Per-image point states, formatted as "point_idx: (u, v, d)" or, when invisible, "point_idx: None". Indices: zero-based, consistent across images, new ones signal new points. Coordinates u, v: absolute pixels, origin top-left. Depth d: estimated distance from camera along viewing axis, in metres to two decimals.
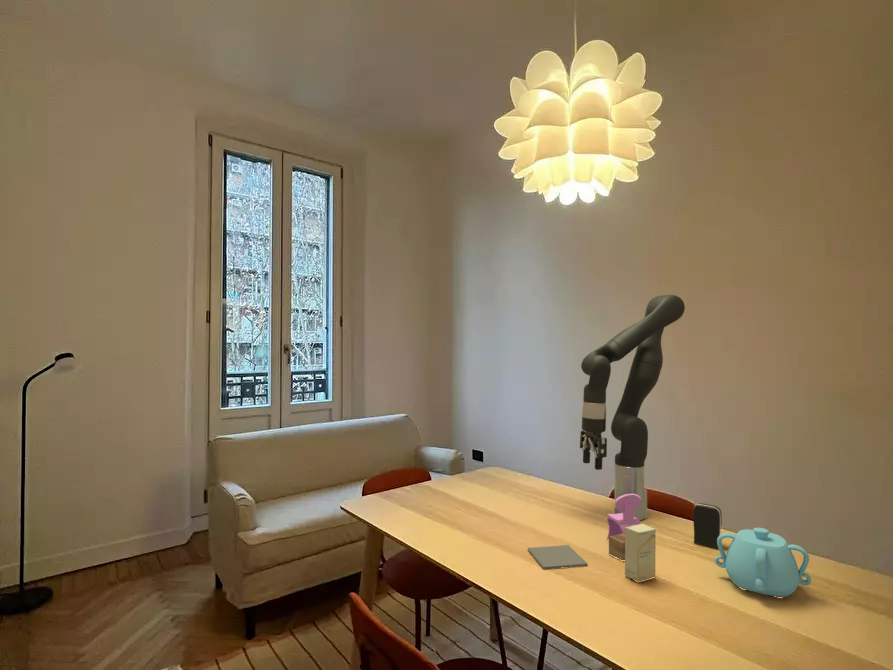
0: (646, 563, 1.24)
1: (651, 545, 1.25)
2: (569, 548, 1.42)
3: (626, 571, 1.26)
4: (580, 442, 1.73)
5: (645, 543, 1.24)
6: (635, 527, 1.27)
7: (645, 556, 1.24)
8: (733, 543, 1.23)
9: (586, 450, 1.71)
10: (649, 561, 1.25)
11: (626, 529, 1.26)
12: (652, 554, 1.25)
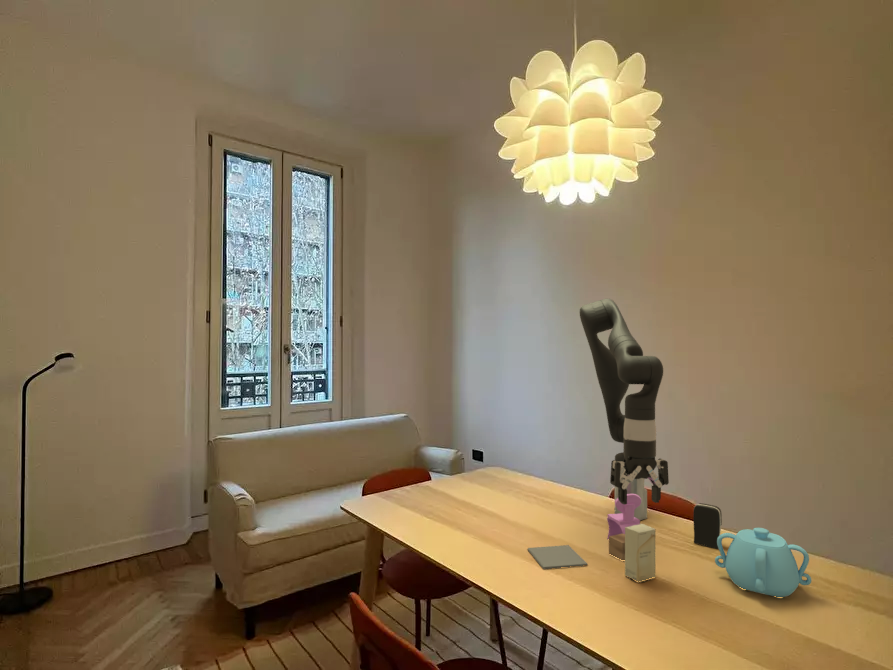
0: (646, 563, 1.24)
1: (651, 545, 1.25)
2: (569, 548, 1.42)
3: (626, 571, 1.26)
4: (616, 479, 1.24)
5: (645, 543, 1.24)
6: (635, 527, 1.27)
7: (645, 556, 1.24)
8: (733, 543, 1.23)
9: None
10: (649, 561, 1.25)
11: (626, 529, 1.26)
12: (652, 554, 1.25)
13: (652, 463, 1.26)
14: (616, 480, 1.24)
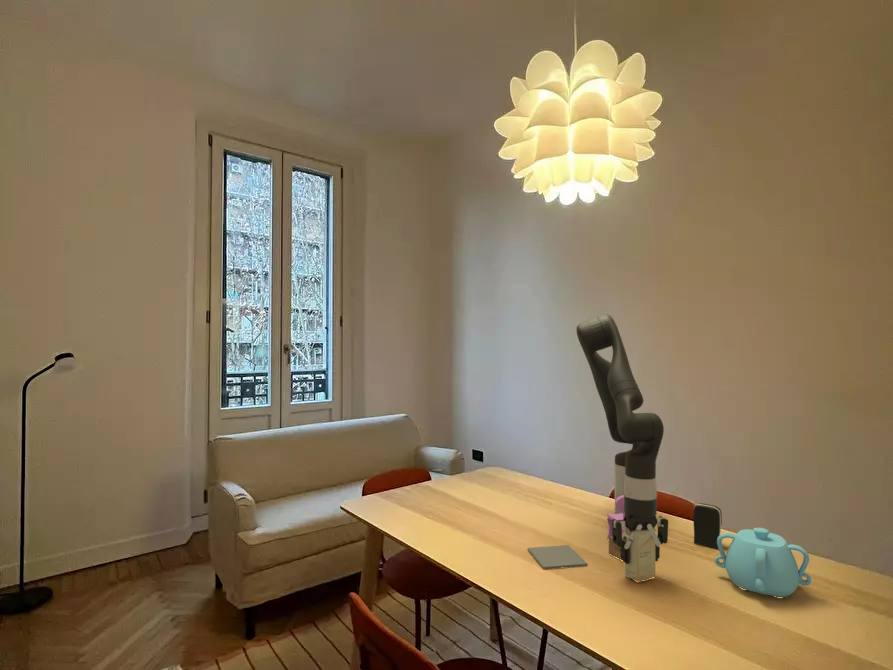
0: (646, 563, 1.24)
1: (651, 545, 1.25)
2: (569, 548, 1.42)
3: (626, 571, 1.26)
4: (618, 539, 1.24)
5: (645, 543, 1.24)
6: None
7: (645, 556, 1.24)
8: (733, 543, 1.23)
9: None
10: (649, 561, 1.25)
11: (626, 529, 1.26)
12: (652, 554, 1.25)
13: (653, 521, 1.26)
14: (618, 540, 1.24)
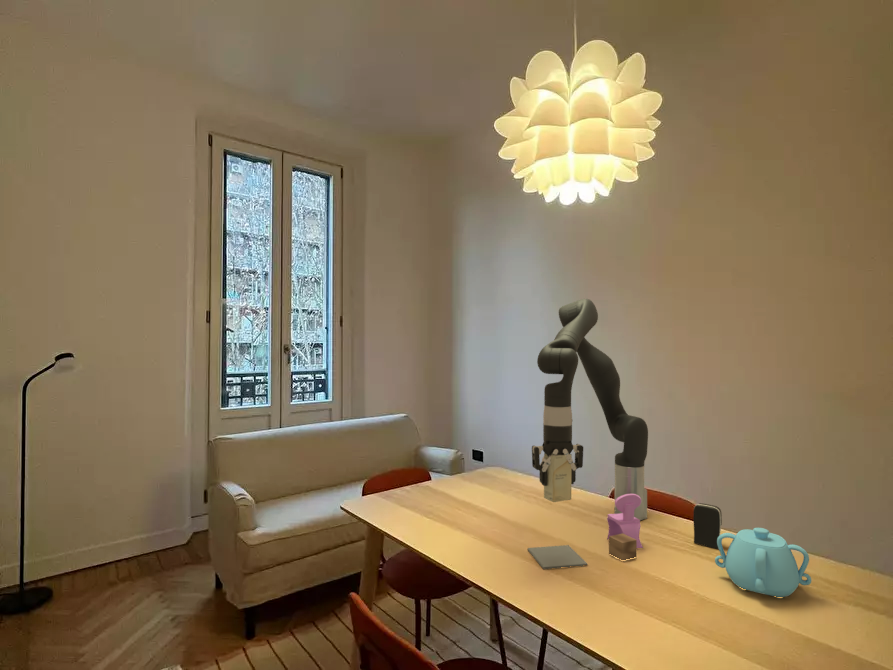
0: (562, 485, 1.35)
1: (567, 469, 1.36)
2: (569, 548, 1.42)
3: (545, 493, 1.37)
4: (536, 462, 1.35)
5: (561, 467, 1.35)
6: None
7: (561, 478, 1.35)
8: (733, 543, 1.23)
9: None
10: (565, 483, 1.36)
11: (545, 455, 1.37)
12: (568, 477, 1.36)
13: (569, 446, 1.37)
14: (536, 464, 1.35)
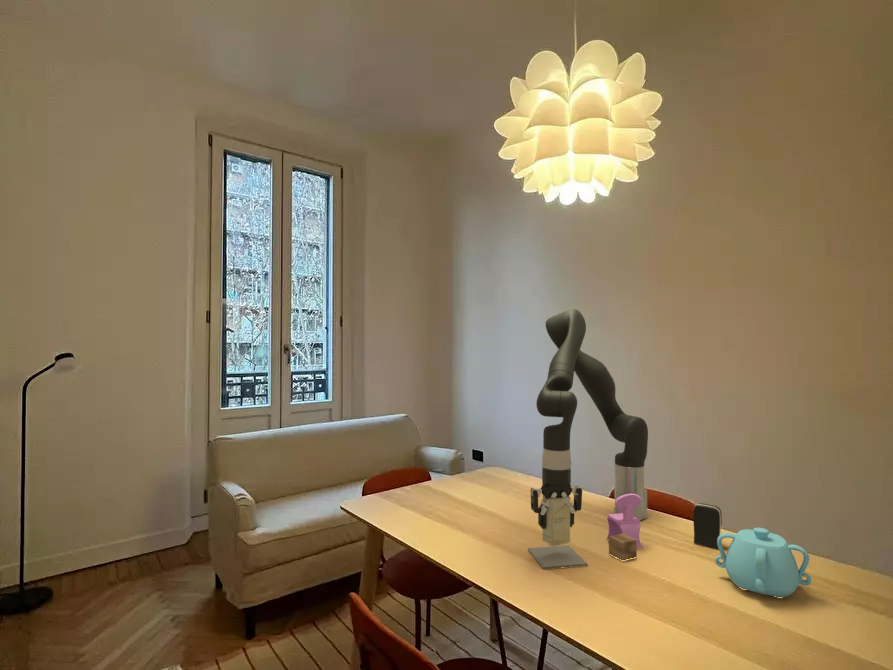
0: (561, 528, 1.35)
1: (566, 512, 1.36)
2: (569, 548, 1.42)
3: (543, 536, 1.37)
4: (535, 506, 1.35)
5: (560, 510, 1.35)
6: None
7: (559, 521, 1.35)
8: (733, 543, 1.23)
9: None
10: (563, 526, 1.36)
11: (543, 497, 1.38)
12: (566, 520, 1.36)
13: (567, 489, 1.37)
14: (535, 507, 1.35)
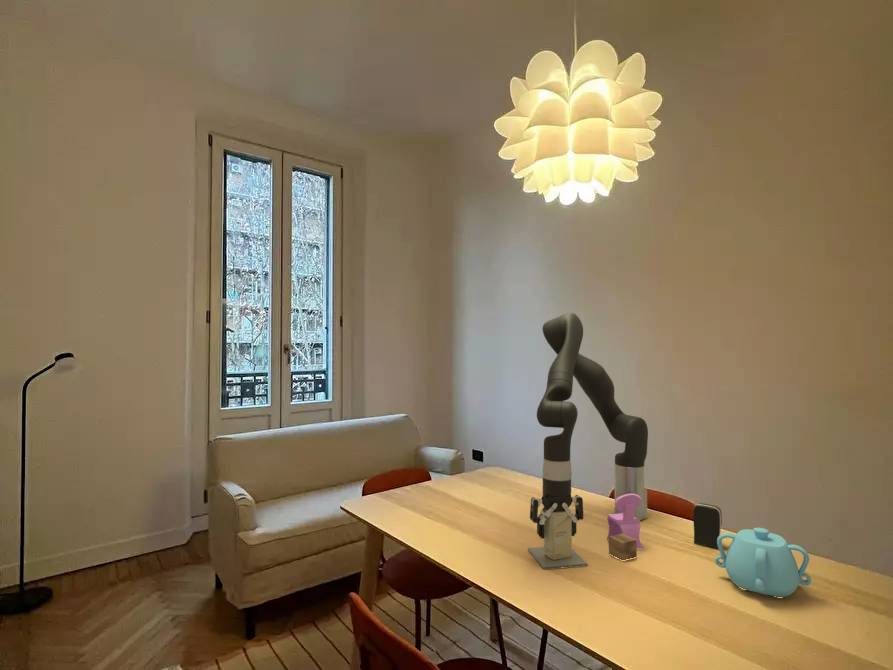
0: (562, 542, 1.35)
1: (567, 526, 1.36)
2: None
3: (545, 549, 1.37)
4: (534, 515, 1.35)
5: (561, 524, 1.35)
6: None
7: (560, 535, 1.35)
8: (733, 543, 1.23)
9: None
10: (565, 540, 1.36)
11: (545, 511, 1.38)
12: (568, 534, 1.36)
13: (568, 500, 1.37)
14: (534, 516, 1.35)
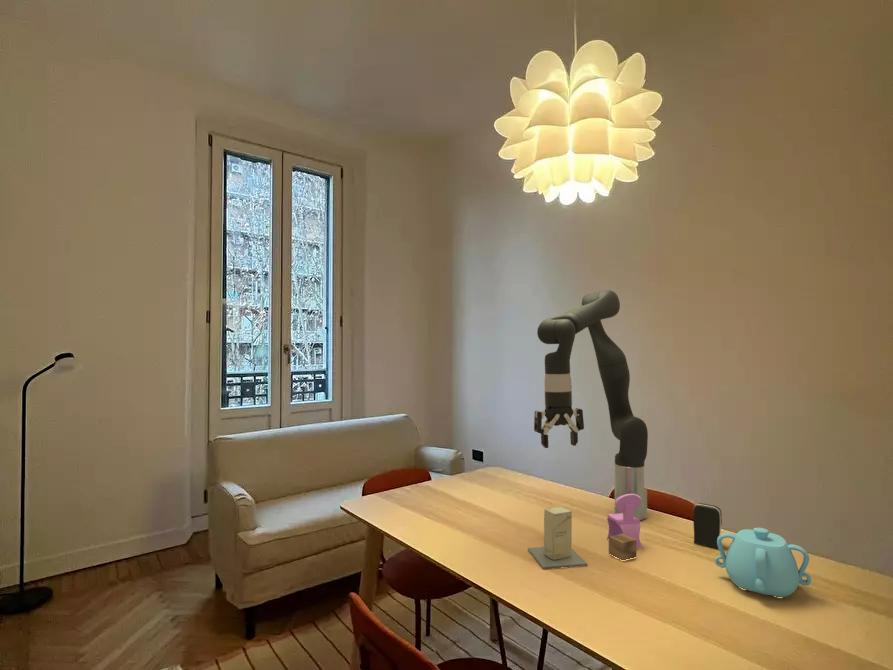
0: (562, 542, 1.35)
1: (567, 526, 1.36)
2: None
3: (545, 549, 1.37)
4: (538, 426, 1.44)
5: (561, 524, 1.35)
6: (553, 509, 1.38)
7: (560, 535, 1.35)
8: (733, 543, 1.23)
9: None
10: (565, 540, 1.36)
11: (545, 511, 1.38)
12: (568, 534, 1.36)
13: (569, 411, 1.46)
14: (538, 427, 1.44)
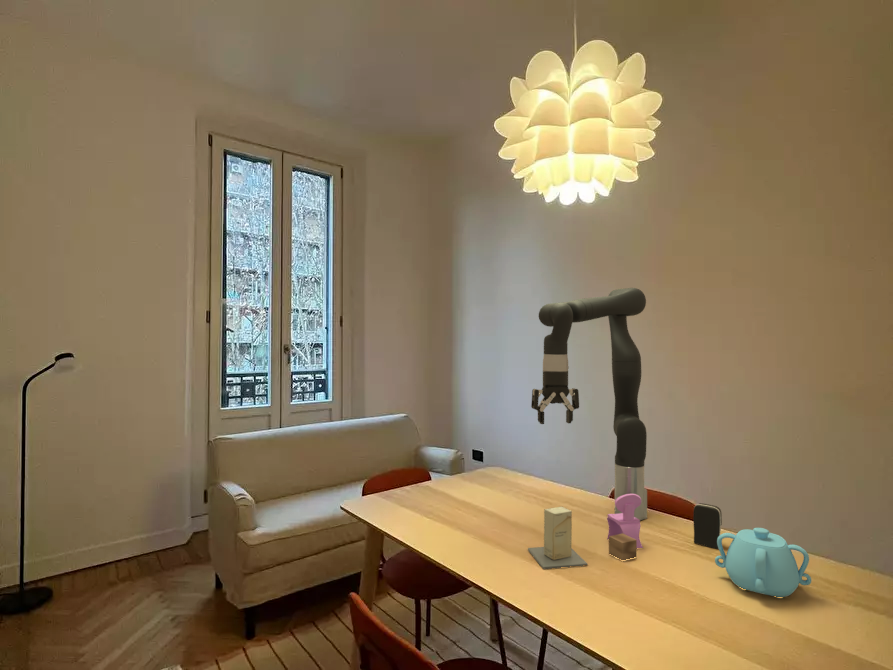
0: (562, 542, 1.35)
1: (567, 526, 1.36)
2: None
3: (545, 549, 1.37)
4: (535, 403, 1.52)
5: (561, 524, 1.35)
6: (553, 509, 1.38)
7: (560, 535, 1.35)
8: (733, 543, 1.23)
9: None
10: (565, 540, 1.36)
11: (545, 511, 1.38)
12: (568, 534, 1.36)
13: (565, 391, 1.54)
14: (535, 404, 1.52)
